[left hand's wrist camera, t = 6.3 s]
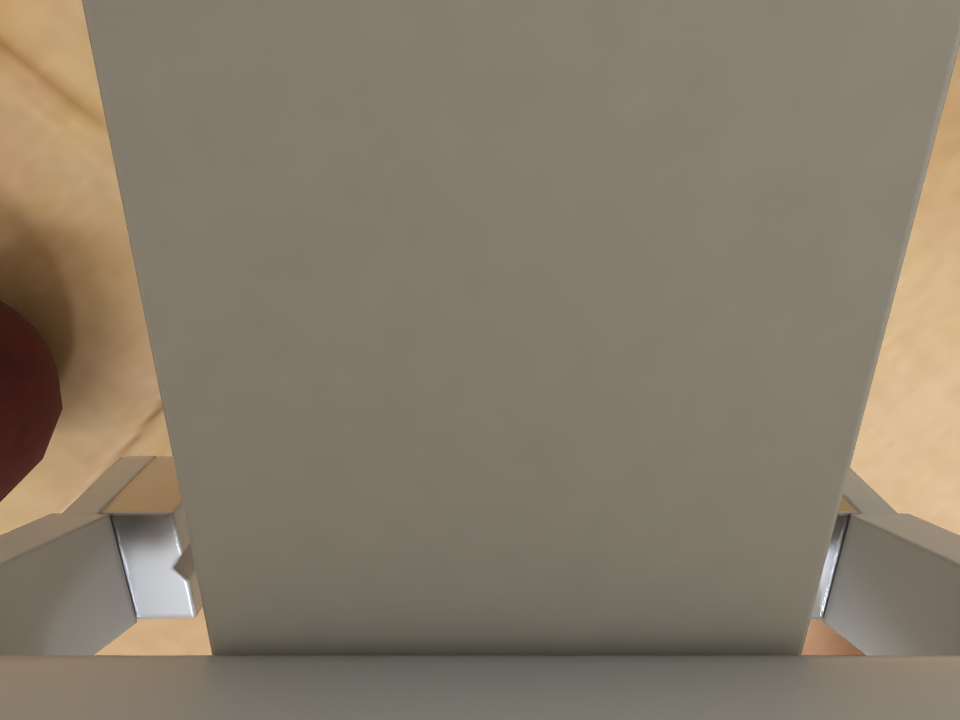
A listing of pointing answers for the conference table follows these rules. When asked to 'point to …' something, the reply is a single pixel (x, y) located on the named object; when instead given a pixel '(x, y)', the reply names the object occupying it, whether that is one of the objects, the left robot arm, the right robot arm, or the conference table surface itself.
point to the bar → (517, 305)
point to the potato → (24, 398)
